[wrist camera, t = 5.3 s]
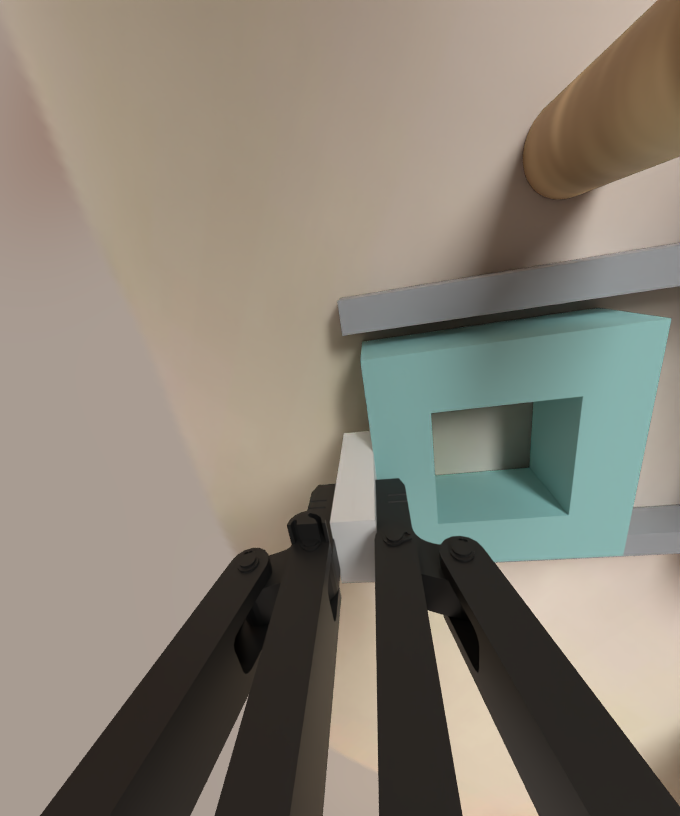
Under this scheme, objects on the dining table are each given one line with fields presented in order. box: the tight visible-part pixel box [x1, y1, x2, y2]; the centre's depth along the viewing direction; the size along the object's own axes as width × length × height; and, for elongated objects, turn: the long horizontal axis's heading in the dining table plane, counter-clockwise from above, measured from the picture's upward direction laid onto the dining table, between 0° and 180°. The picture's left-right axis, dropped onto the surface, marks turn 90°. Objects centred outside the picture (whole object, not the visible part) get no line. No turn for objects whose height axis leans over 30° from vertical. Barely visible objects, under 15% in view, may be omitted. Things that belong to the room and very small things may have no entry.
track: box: [337, 243, 680, 562], centre depth 14 cm, size 16×22×6 cm
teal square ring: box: [360, 308, 671, 562], centre depth 16 cm, size 11×11×4 cm
